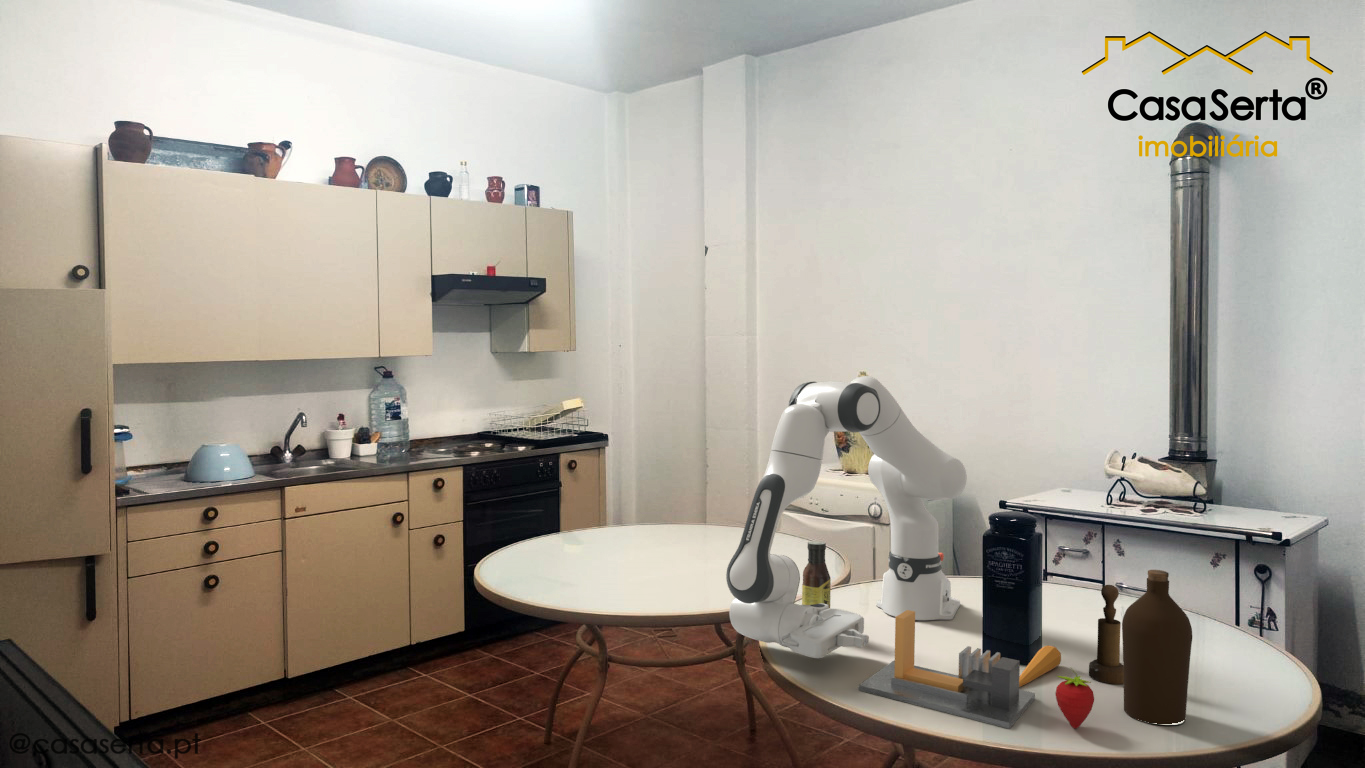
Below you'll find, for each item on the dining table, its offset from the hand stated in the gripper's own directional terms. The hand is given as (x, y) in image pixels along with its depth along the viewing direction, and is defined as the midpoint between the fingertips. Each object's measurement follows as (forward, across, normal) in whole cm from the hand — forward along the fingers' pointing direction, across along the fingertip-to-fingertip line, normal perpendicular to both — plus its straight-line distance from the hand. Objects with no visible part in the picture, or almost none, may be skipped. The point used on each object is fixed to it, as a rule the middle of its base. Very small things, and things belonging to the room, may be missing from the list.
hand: (865, 641), depth 168 cm
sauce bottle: (-20, +18, +7) cm, 28 cm away
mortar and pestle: (+38, +27, +7) cm, 47 cm away
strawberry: (+38, -1, +7) cm, 39 cm away
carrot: (+26, +19, +7) cm, 33 cm away
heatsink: (+16, 0, +6) cm, 17 cm away
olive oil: (+48, +13, +7) cm, 50 cm away
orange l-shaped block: (+13, 0, +5) cm, 14 cm away
